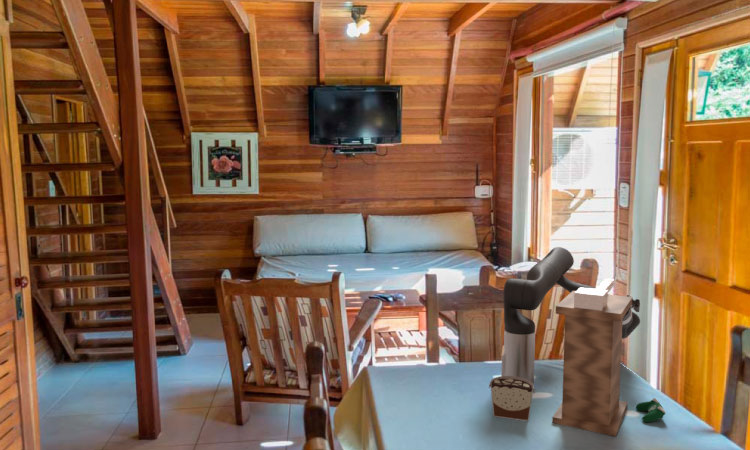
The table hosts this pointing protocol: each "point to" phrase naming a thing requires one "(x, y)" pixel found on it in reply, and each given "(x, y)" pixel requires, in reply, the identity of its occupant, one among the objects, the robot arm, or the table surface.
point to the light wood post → (593, 296)
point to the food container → (511, 397)
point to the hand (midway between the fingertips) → (613, 296)
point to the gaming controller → (651, 410)
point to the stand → (592, 366)
